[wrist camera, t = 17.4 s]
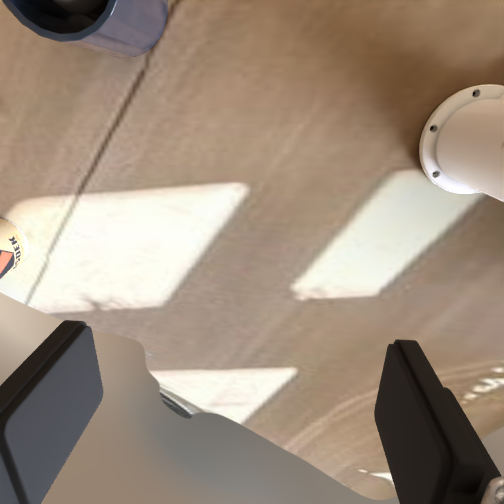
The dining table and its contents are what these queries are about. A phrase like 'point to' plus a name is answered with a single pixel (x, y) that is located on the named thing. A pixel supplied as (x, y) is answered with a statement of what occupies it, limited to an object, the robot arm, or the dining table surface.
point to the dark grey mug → (97, 24)
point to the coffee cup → (11, 247)
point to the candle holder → (84, 7)
